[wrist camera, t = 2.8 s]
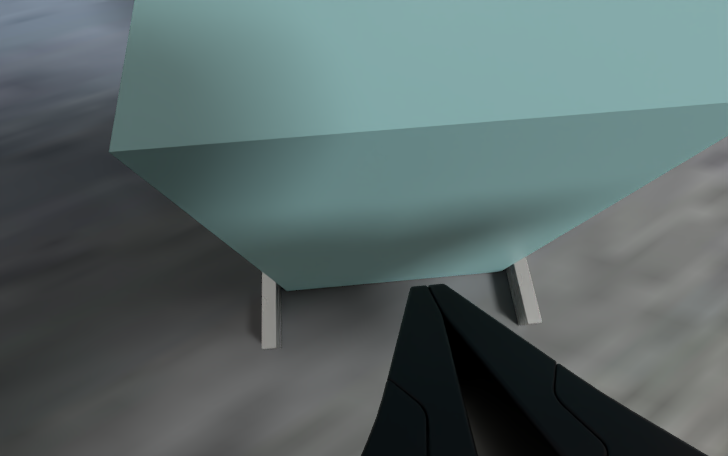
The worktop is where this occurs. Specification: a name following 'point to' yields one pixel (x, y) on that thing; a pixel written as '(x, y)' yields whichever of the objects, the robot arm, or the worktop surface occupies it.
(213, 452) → the worktop surface
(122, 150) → the block
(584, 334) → the worktop surface
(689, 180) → the worktop surface
